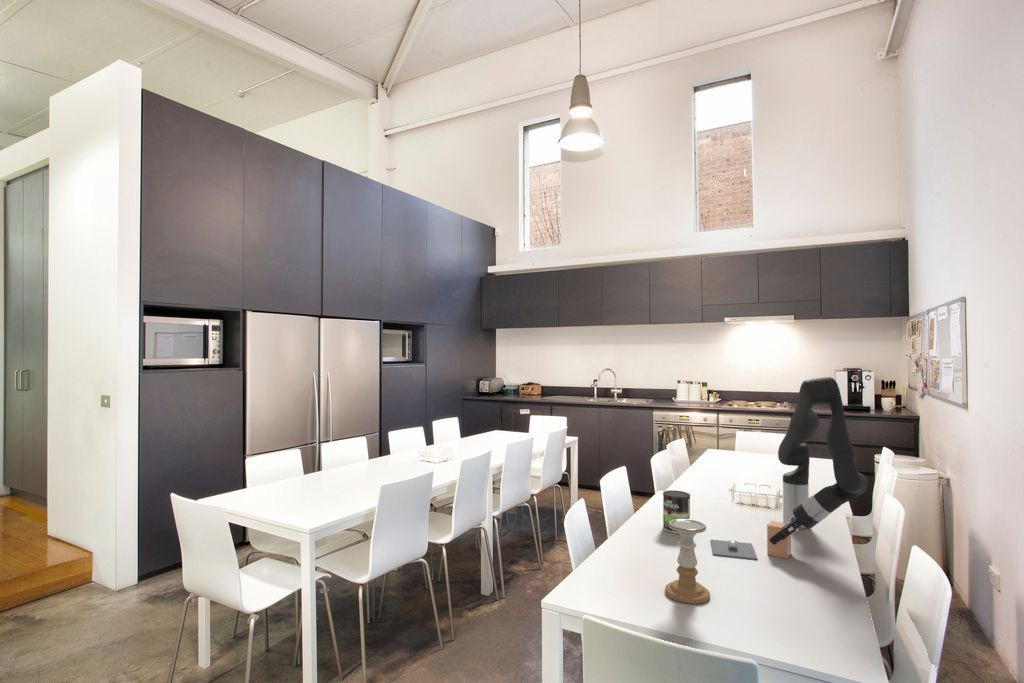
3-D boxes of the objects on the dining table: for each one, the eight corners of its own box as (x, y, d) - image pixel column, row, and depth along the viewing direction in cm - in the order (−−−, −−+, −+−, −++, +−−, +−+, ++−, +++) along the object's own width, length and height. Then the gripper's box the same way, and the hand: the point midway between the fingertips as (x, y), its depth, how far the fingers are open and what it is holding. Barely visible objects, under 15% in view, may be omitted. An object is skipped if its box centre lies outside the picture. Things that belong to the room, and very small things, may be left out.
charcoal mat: (710, 540, 200) (710, 539, 200) (751, 544, 195) (751, 543, 196) (713, 555, 185) (713, 553, 185) (757, 560, 181) (757, 558, 181)
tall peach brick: (771, 549, 191) (771, 520, 192) (791, 553, 187) (790, 524, 188) (767, 554, 186) (767, 525, 187) (787, 558, 183) (786, 528, 183)
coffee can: (680, 535, 205) (680, 498, 205) (657, 529, 213) (657, 493, 213) (695, 530, 212) (695, 494, 212) (672, 523, 219) (672, 488, 220)
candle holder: (719, 601, 151) (719, 528, 151) (681, 607, 147) (680, 532, 148) (692, 583, 163) (692, 516, 163) (656, 588, 159) (656, 519, 159)
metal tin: (727, 546, 192) (727, 539, 192) (737, 547, 191) (736, 540, 191) (728, 549, 189) (728, 542, 189) (737, 550, 189) (737, 543, 189)
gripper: (806, 497, 188) (770, 525, 195) (798, 507, 177) (760, 535, 184) (824, 516, 185) (786, 543, 192) (817, 526, 174) (777, 555, 181)
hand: (773, 539), depth 188 cm, fingers closed on tall peach brick, 6 cm apart
